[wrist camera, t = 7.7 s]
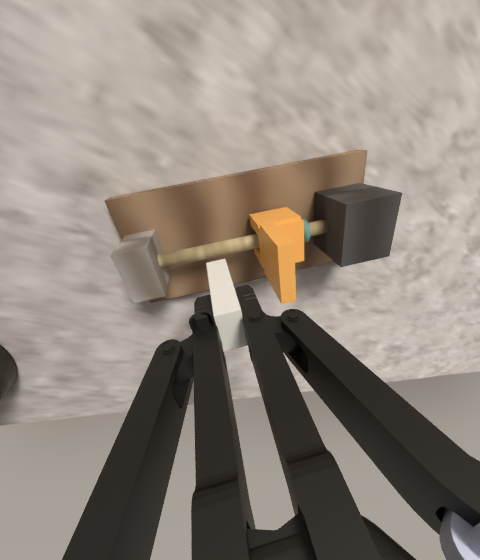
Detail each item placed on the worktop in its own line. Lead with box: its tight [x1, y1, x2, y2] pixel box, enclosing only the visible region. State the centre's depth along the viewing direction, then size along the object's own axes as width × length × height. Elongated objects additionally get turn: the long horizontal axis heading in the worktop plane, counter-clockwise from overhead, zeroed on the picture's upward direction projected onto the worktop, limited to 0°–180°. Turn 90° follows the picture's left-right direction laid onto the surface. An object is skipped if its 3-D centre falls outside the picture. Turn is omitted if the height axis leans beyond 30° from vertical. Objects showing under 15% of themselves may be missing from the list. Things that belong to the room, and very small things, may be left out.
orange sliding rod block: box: [249, 207, 304, 304], centre depth 21 cm, size 4×5×10 cm
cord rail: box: [105, 150, 402, 303], centre depth 24 cm, size 26×12×8 cm, turn 99°
